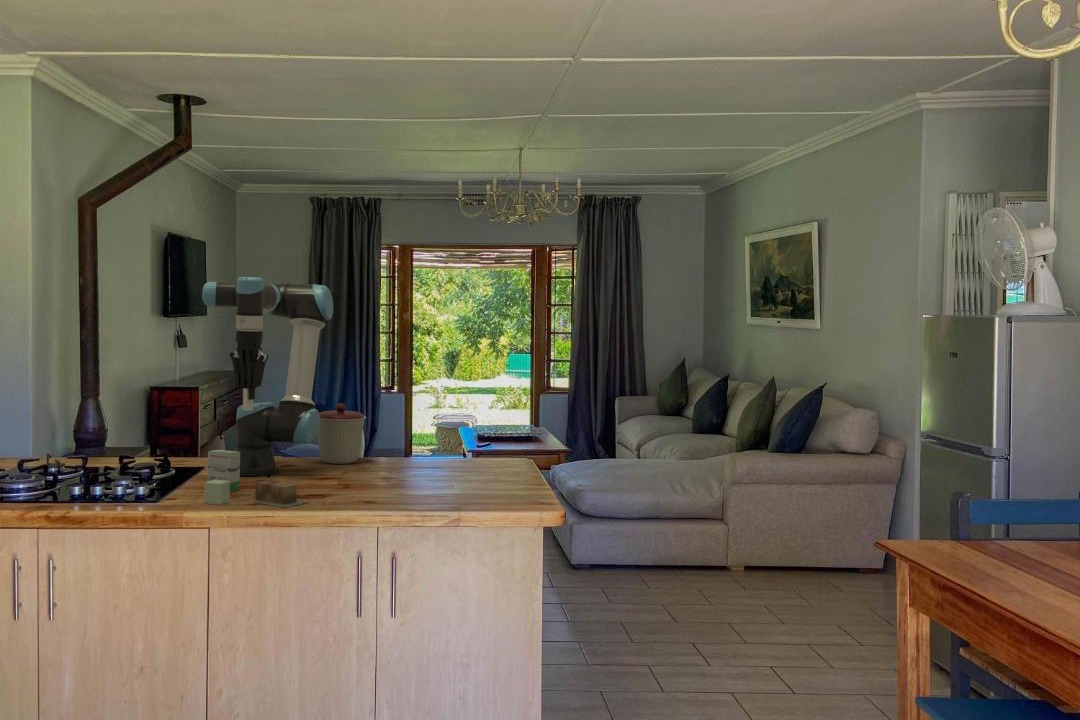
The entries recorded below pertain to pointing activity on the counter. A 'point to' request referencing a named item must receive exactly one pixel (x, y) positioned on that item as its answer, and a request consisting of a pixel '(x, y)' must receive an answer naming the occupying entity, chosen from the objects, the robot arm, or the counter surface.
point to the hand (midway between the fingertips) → (248, 410)
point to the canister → (340, 435)
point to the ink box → (224, 467)
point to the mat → (280, 504)
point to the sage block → (217, 492)
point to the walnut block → (276, 492)
